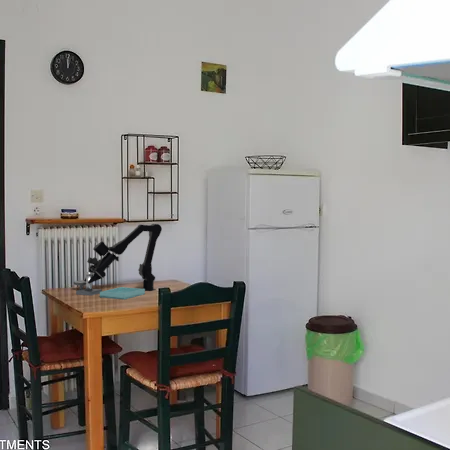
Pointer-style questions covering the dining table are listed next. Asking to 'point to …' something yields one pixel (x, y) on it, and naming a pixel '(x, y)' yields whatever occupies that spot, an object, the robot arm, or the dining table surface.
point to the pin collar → (88, 292)
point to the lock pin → (88, 275)
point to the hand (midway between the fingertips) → (86, 282)
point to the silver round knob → (80, 283)
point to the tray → (122, 293)
